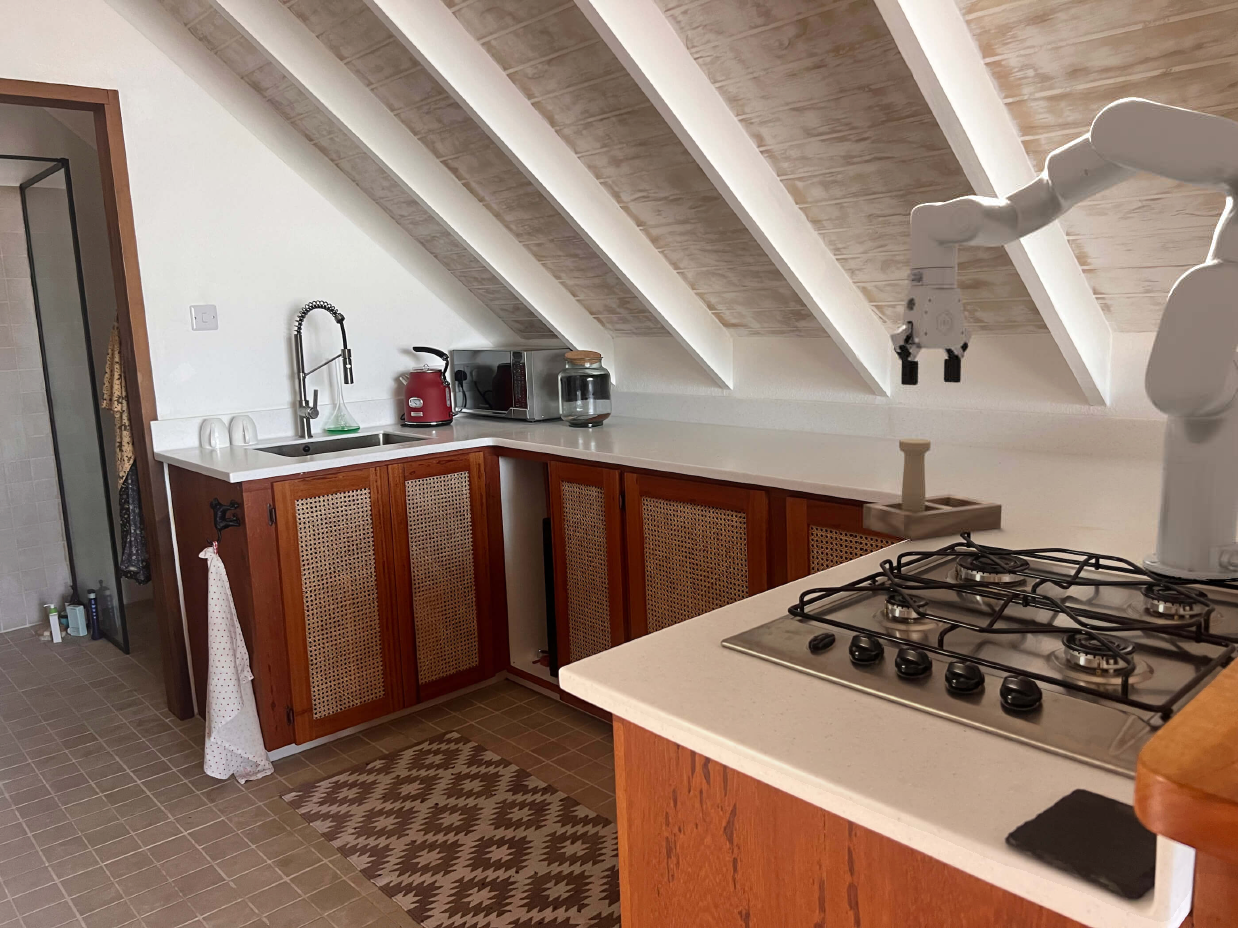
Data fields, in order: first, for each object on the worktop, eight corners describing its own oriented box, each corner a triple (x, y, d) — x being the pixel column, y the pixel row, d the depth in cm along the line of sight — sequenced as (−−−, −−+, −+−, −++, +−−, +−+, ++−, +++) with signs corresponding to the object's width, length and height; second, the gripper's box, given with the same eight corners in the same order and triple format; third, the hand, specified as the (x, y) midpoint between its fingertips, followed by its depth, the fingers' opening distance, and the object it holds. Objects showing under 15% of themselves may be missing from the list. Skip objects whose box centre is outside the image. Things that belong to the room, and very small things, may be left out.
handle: (923, 524, 167) (925, 438, 165) (931, 531, 160) (933, 443, 158) (894, 524, 167) (896, 438, 165) (902, 531, 161) (904, 443, 159)
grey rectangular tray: (1000, 527, 165) (1001, 504, 164) (912, 540, 156) (912, 516, 156) (948, 515, 176) (949, 494, 175) (863, 527, 167) (863, 504, 166)
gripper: (910, 278, 152) (908, 386, 154) (988, 279, 160) (985, 382, 162) (877, 281, 158) (876, 385, 161) (953, 282, 166) (951, 380, 169)
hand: (931, 383), depth 161 cm, fingers open, 9 cm apart
